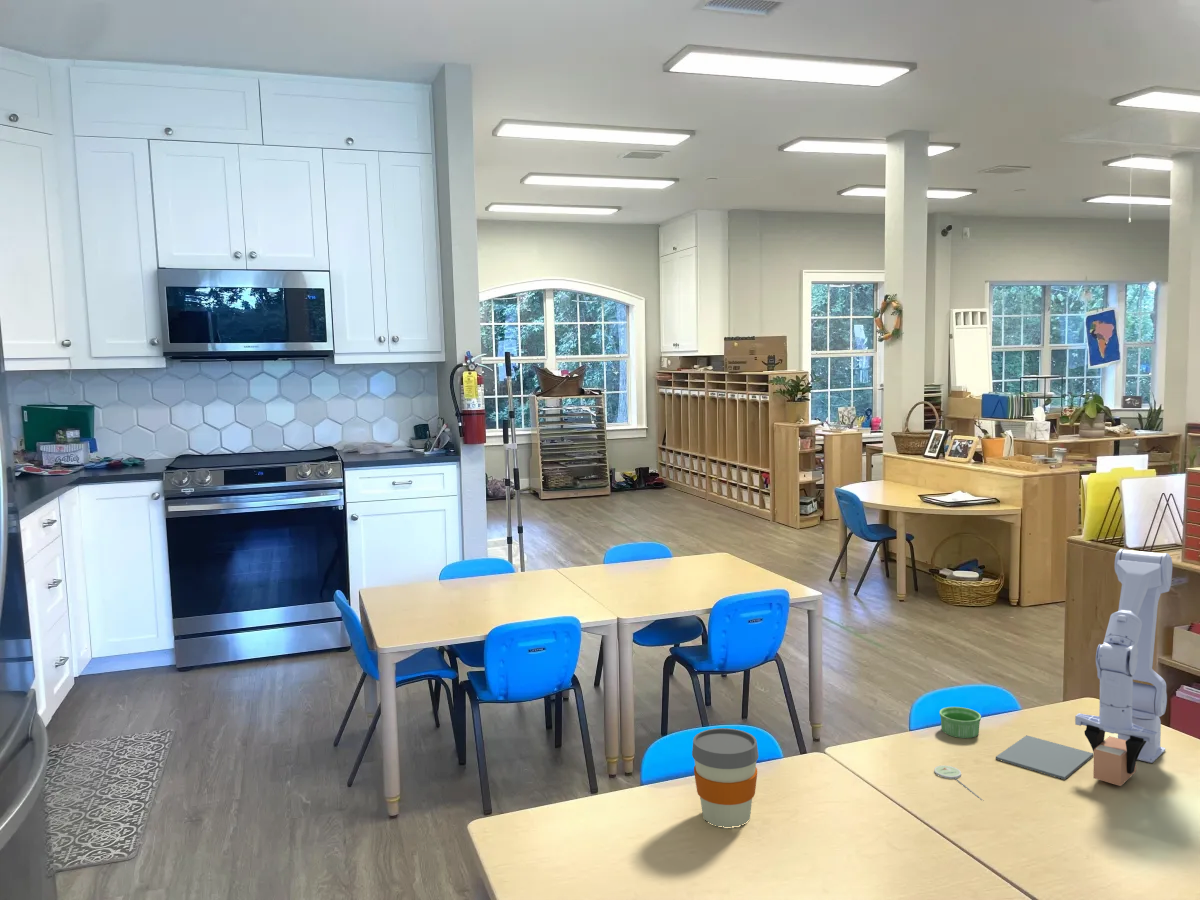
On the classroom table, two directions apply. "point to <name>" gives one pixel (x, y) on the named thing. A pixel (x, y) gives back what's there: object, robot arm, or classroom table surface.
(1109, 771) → the brick
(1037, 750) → the mat
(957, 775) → the sign
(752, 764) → the reusable coffee cup
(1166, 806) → the classroom table surface
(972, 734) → the ramekin
